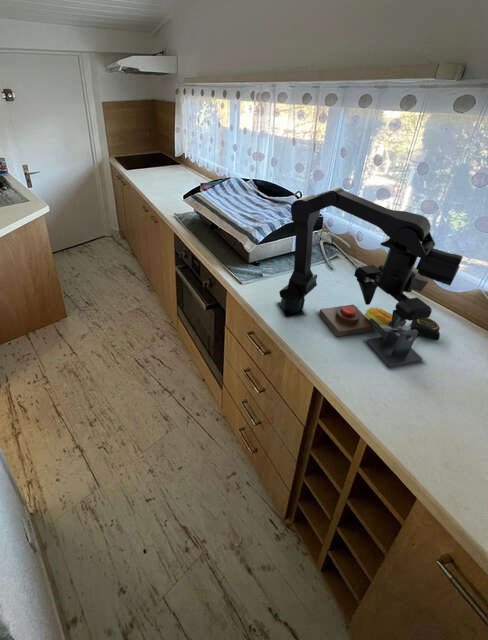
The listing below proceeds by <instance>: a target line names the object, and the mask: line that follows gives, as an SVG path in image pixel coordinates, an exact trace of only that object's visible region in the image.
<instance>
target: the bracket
mask: <svg viewBox="0 0 488 640" xmlns="http://www.w3.org/2000/svg"><path fill="white" fill-rule="evenodd" d="M406 323H407V320H405V321H404V322H403V323H402V324H400V325H404V326H406ZM388 326H390V327H391V321H390V322H389V324H388ZM386 332H387V334H386V335H385V336H380V337H374V338H373V337H372V338H367V339H366V341H365V343H366V344H367V345H368V346H369V347H370V349H371V350H372V351H373V352H374V353H375V354H376V356H378V357H379V358H380V359H381V361H382V362H383V363H384V364H385V365H386V366H387V367H388V368H394V367H395V368H396V367H400V366H406V365H411V364H417V363H421V362H422V361H423V357H422V356H420V355H419V353H417V352H416V351H415V350H414V349H413V348H412V347H413V345H414V343H415V341H416V338H417V337H418V331H417V330H416V329H414V330H410V329H409V330H408V331H401V333H400V335H399V337H398V336H397V335H396V334H395V333H394V332H388V331H386Z"/></svg>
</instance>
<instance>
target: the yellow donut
mask: <svg viewBox="0 0 488 640" xmlns="http://www.w3.org/2000/svg"><path fill="white" fill-rule="evenodd" d="M364 315H365V317H366V318H367V319H368V320H369V319H371V318H372V319H374V320H375V321H376V322H377V323H378V324H379V325H384V326H388V324H389V322H390V321H392V313H390V312H388V311H386V310H383V309H382V308H379V307H373V306H372V307H369V308H368V309H366V311H365V312H364Z"/></svg>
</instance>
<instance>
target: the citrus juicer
mask: <svg viewBox="0 0 488 640" xmlns="http://www.w3.org/2000/svg"><path fill="white" fill-rule="evenodd" d="M330 236H331V237H330ZM332 237H334V238H336V239H337V240H339V241H340V242H342V243H343V244H344V245H345V246H347V247H348V249H352V246H351V245H350V244H349V243H348V242H347V241H346V240H344V239H343V238H341V237H340V236H339V235H336V234H334V233H332V232H330V231H328V233H327V232H324V231H323V232H322V235H321V239H320V240H319V244H320V245H319V246H320V249H321V252H322V254H323V255H322V256H323V257H324V259H325V261H326V263H327V265H328V266H329V268H330V269H332V270H333V269H334V266H333V265H332V263H331V262H330V260H329V258H328V256H327V254H326V251H325V247H324V243H326V244H333V245H334V246H335V247H336V248H337V249H338V250H339V252H341V253H342V254H343V255H344V256H345V257H346V258H347V259H348V260H349V261H350V262H351V263H352V265H354V266H355V268H356V269H357V268H358V267H360V266H359V265H358V264H357V263H356V262H355V260H353V259H352V257H350V256H349V255H348V254H347V253H346V252H345V251H344V250H343V249H342V248H341V247H340V246H338V245H337V244H336V243H335V242H334V241H333V240H332ZM332 241H333V242H332Z"/></svg>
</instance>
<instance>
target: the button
mask: <svg viewBox="0 0 488 640" xmlns="http://www.w3.org/2000/svg"><path fill="white" fill-rule="evenodd" d="M342 306H343V308H342V311H341V313H342V314H343V315H344V316H346V317H350V318H352V317H354V314H355V309H354V308H353V307H351V306H346V305H342Z"/></svg>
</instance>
